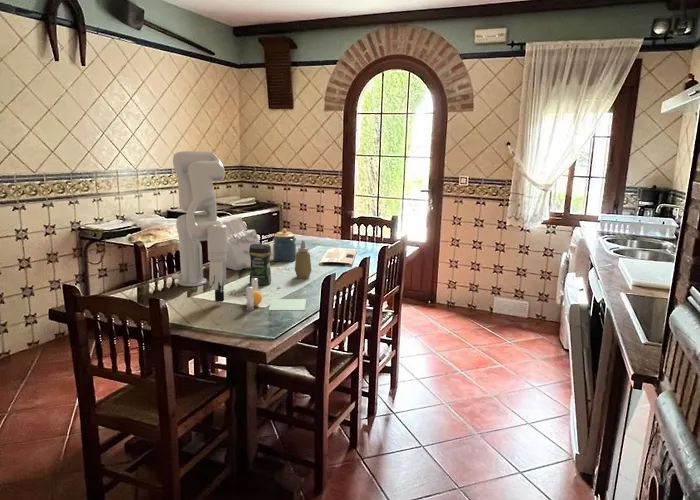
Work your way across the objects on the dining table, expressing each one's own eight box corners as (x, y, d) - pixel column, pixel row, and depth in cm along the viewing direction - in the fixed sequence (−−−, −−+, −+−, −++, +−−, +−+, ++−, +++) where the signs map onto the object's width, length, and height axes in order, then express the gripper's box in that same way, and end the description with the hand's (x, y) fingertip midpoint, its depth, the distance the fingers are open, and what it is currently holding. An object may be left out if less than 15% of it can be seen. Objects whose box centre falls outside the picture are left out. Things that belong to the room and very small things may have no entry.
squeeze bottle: (311, 275, 248) (311, 239, 244) (311, 279, 240) (311, 242, 236) (295, 274, 248) (295, 239, 244) (294, 279, 240) (294, 242, 236)
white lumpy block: (268, 262, 260) (252, 219, 250) (243, 277, 251) (226, 232, 241) (246, 256, 275) (231, 215, 264) (222, 270, 265) (205, 228, 255)
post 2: (251, 300, 205) (250, 279, 203) (252, 298, 208) (251, 277, 206) (257, 300, 205) (257, 279, 203) (258, 298, 208) (258, 277, 206)
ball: (255, 310, 196) (242, 302, 196) (257, 306, 202) (245, 298, 201) (263, 297, 196) (250, 289, 195) (265, 294, 201) (252, 286, 201)
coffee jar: (247, 284, 229) (246, 244, 225) (254, 280, 236) (253, 241, 232) (266, 286, 226) (266, 246, 223) (273, 282, 234) (273, 243, 230)
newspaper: (351, 267, 268) (351, 262, 267) (315, 266, 270) (315, 261, 269) (356, 253, 304) (356, 248, 303) (325, 252, 306) (325, 247, 305)
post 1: (246, 310, 192) (245, 288, 190) (247, 308, 195) (246, 286, 193) (253, 310, 192) (252, 288, 190) (254, 308, 195) (253, 286, 193)
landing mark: (268, 310, 193) (268, 309, 193) (272, 299, 207) (272, 299, 207) (304, 310, 194) (304, 309, 194) (306, 299, 208) (306, 299, 208)
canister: (298, 257, 286) (298, 227, 283) (293, 262, 274) (293, 230, 270) (276, 256, 287) (275, 226, 284) (270, 261, 275) (269, 230, 271)
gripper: (212, 251, 202) (214, 295, 206) (203, 260, 188) (205, 306, 192) (231, 252, 203) (232, 295, 206) (223, 260, 188) (225, 306, 192)
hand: (219, 300), depth 199 cm, fingers closed
